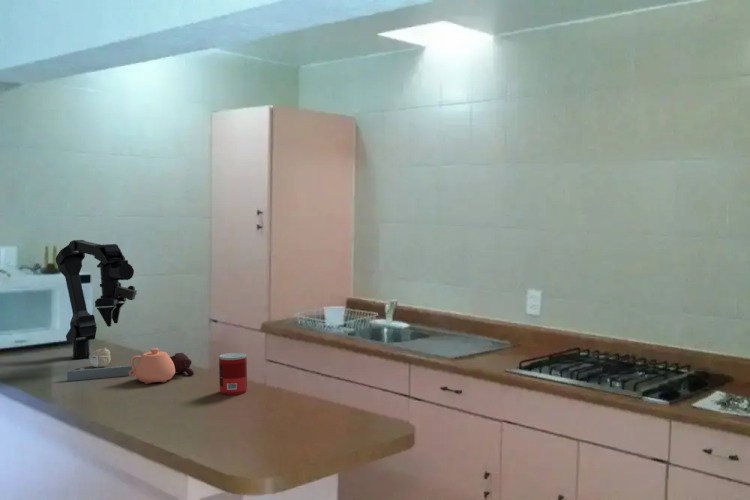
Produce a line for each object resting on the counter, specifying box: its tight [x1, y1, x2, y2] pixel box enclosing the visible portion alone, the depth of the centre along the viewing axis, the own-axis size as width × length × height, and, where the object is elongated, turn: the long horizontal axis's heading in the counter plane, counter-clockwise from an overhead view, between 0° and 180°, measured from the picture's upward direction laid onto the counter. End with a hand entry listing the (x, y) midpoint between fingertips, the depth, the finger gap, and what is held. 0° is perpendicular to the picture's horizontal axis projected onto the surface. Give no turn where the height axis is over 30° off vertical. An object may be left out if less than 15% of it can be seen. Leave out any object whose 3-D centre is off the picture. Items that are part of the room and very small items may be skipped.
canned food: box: [218, 352, 248, 396], centre depth 215 cm, size 8×8×11 cm
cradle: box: [66, 364, 133, 382], centre depth 237 cm, size 6×20×3 cm, turn 112°
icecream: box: [169, 352, 195, 376], centre depth 241 cm, size 7×7×15 cm
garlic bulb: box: [88, 344, 112, 368], centre depth 250 cm, size 7×6×8 cm
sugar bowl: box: [129, 347, 176, 385], centre depth 230 cm, size 12×14×10 cm
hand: (112, 324), depth 254 cm, fingers open, 9 cm apart
